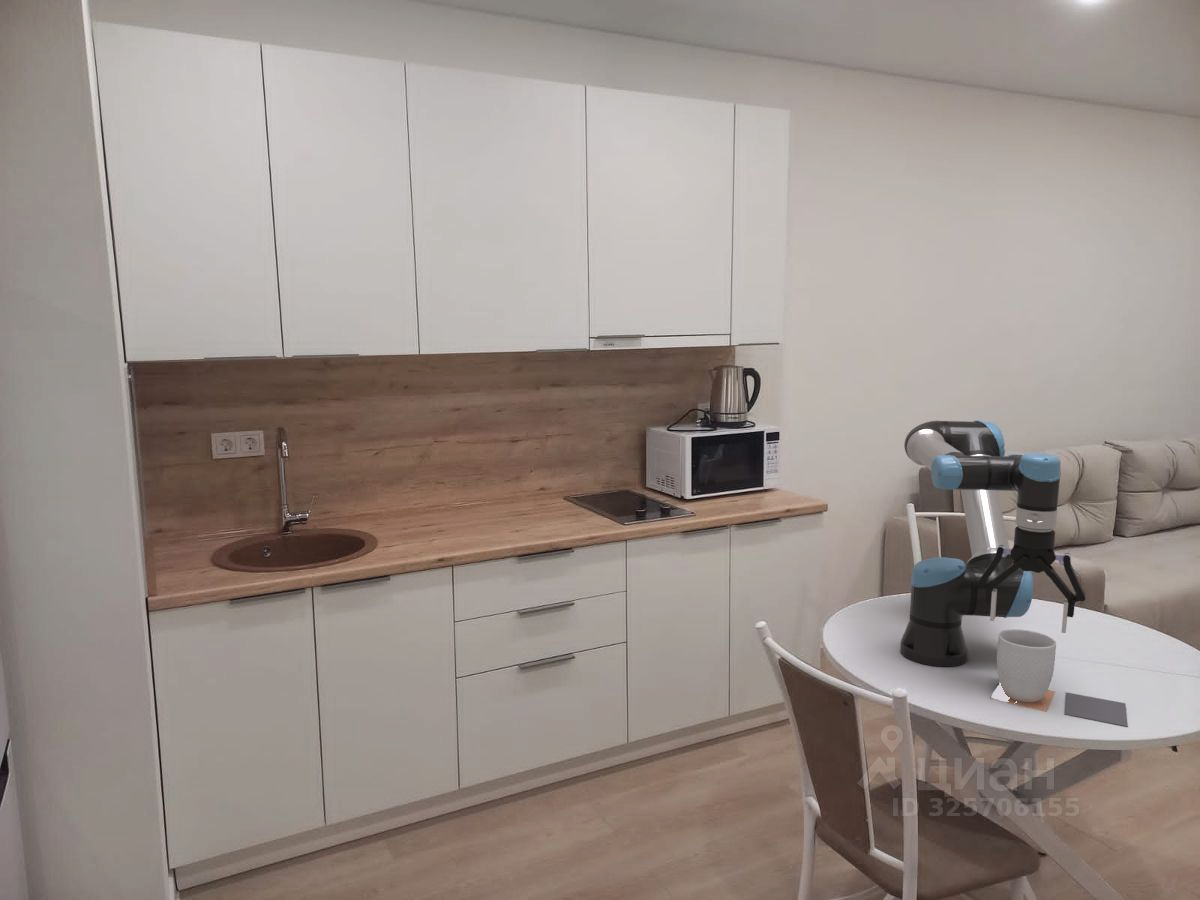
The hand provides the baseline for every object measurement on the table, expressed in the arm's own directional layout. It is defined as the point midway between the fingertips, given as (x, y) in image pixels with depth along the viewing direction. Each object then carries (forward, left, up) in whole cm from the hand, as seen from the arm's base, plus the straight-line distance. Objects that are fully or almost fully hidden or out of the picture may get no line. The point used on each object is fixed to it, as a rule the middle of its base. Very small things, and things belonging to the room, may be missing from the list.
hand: (1027, 625), depth 179 cm
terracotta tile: (0, 0, -16) cm, 16 cm away
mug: (0, 0, -16) cm, 16 cm away
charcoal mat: (+14, 0, -16) cm, 21 cm away
